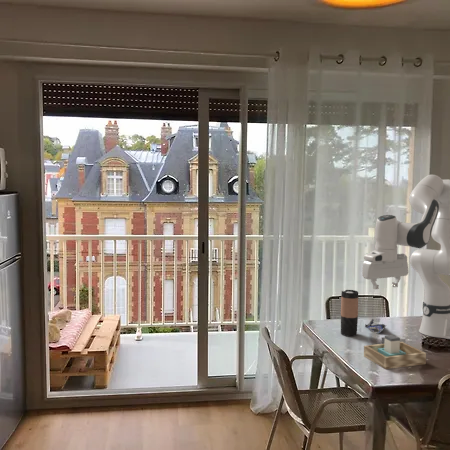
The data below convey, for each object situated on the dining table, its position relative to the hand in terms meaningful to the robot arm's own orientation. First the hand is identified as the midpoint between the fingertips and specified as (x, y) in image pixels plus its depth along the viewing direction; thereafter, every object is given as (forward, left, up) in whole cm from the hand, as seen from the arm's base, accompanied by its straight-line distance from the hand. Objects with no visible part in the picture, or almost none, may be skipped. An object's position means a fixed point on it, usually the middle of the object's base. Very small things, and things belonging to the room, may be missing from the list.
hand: (385, 287), depth 193 cm
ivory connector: (+5, +13, -25) cm, 29 cm away
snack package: (-14, -25, -27) cm, 39 cm away
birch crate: (+4, +12, -26) cm, 29 cm away
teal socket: (+6, +13, -26) cm, 30 cm away
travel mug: (+3, -22, -26) cm, 35 cm away
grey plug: (-6, -1, -26) cm, 27 cm away
